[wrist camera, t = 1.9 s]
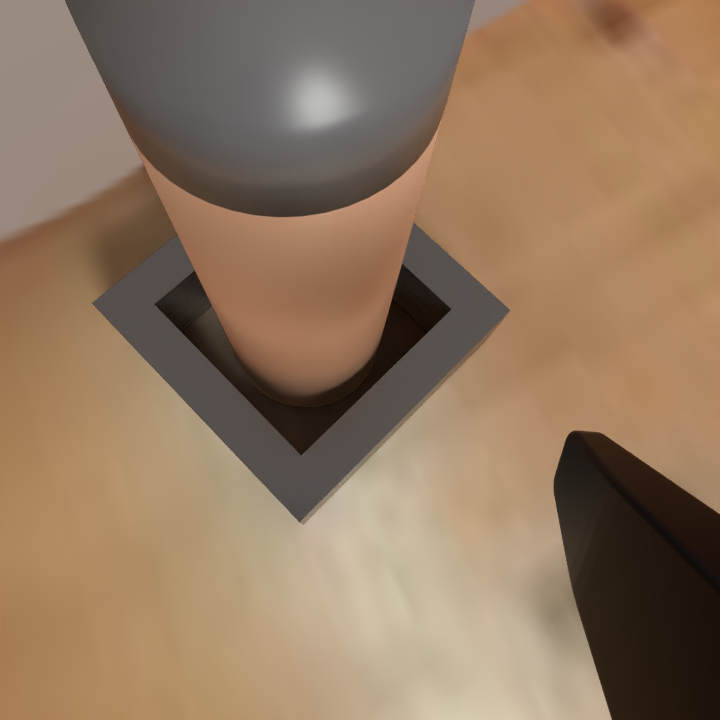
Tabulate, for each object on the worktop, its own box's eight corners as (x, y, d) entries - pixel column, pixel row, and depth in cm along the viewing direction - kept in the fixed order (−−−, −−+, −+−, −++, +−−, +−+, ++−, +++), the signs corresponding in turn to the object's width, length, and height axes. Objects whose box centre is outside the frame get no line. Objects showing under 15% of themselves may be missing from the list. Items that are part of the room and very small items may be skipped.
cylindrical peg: (305, 437, 21) (260, 210, 6) (205, 336, 22) (-31, -68, 7) (407, 339, 22) (562, -40, 8) (309, 246, 23) (283, -256, 8)
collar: (303, 524, 20) (299, 522, 17) (123, 334, 21) (91, 302, 19) (486, 340, 22) (510, 310, 19) (311, 178, 24) (309, 127, 21)
